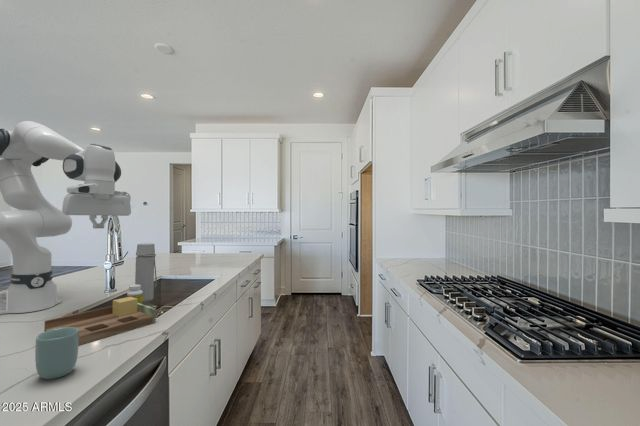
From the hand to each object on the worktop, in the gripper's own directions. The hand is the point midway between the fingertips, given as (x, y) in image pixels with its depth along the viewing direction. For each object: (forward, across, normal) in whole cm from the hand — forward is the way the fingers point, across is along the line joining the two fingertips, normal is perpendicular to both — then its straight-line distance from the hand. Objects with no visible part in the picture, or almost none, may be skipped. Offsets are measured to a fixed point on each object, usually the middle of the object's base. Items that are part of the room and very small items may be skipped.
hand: (98, 228), depth 107 cm
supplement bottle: (+33, -14, -2) cm, 36 cm away
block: (+31, -6, +7) cm, 32 cm away
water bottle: (+33, -24, -12) cm, 43 cm away
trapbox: (+33, +2, +10) cm, 35 cm away
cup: (+33, +21, +33) cm, 51 cm away
